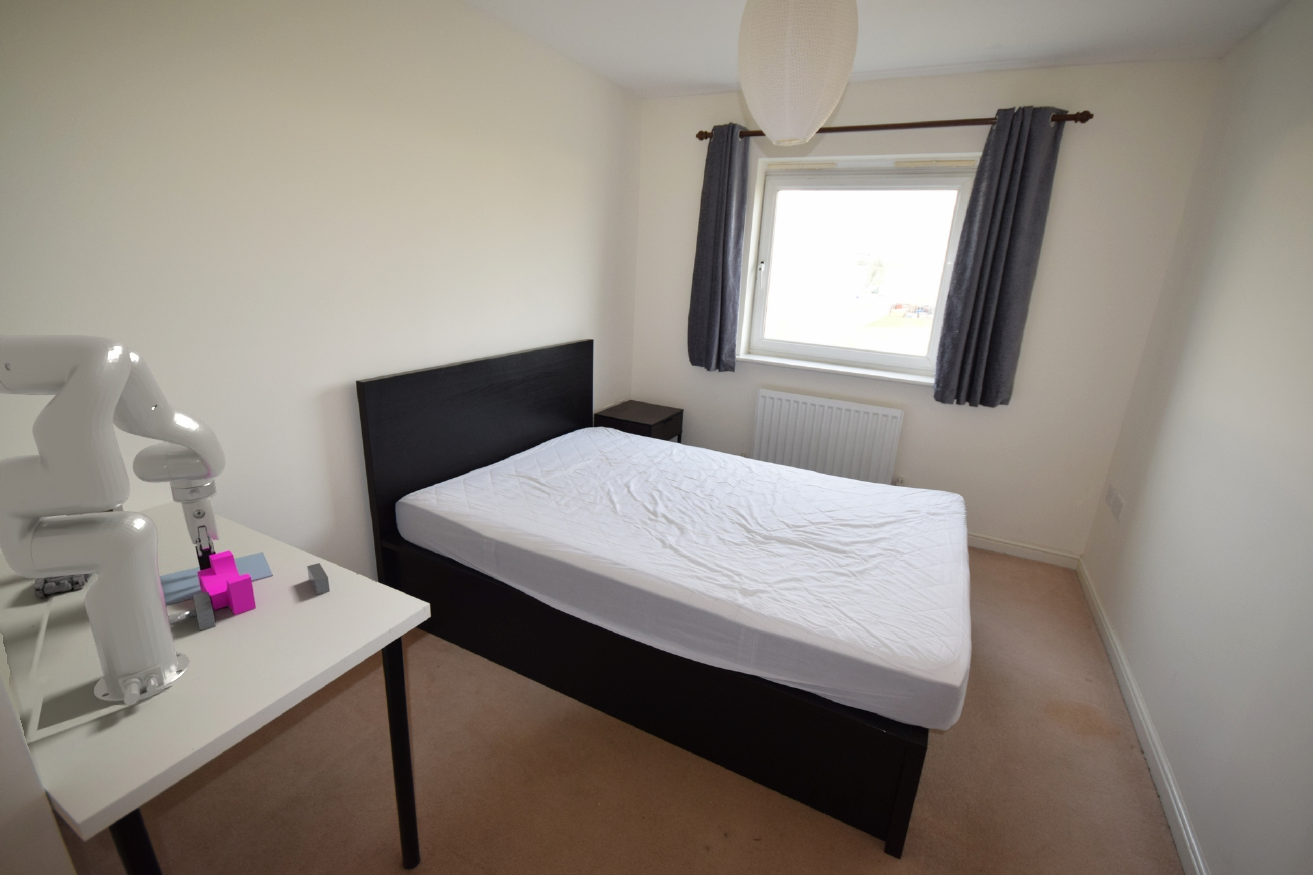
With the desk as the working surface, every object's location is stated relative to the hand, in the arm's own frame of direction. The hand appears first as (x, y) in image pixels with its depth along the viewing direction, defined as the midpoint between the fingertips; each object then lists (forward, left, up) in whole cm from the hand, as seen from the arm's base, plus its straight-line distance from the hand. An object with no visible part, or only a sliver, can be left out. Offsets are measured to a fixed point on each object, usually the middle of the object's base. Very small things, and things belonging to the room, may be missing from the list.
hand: (208, 564), depth 129 cm
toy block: (-12, -2, -4) cm, 13 cm away
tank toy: (+17, +24, -5) cm, 30 cm away
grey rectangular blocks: (-18, -8, -4) cm, 20 cm away
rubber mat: (0, 0, -4) cm, 4 cm away
